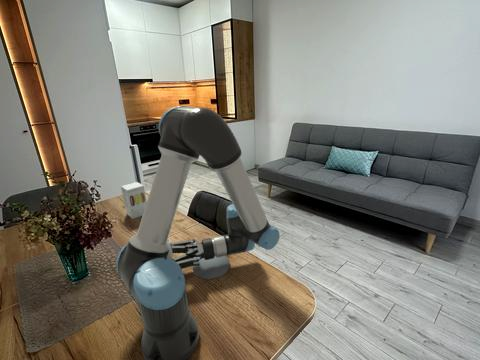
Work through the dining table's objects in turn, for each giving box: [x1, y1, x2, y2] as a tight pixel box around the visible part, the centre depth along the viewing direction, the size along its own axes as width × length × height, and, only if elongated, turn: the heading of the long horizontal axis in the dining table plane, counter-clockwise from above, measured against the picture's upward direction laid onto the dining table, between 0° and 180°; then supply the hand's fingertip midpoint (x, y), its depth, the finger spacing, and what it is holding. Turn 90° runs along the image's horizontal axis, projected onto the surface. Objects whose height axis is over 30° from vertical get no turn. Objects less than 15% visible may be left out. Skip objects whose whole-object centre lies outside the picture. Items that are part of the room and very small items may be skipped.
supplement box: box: [120, 181, 147, 220], centre depth 140 cm, size 10×9×17 cm
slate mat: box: [192, 256, 230, 280], centre depth 98 cm, size 14×14×1 cm
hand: (148, 260), depth 90 cm, fingers closed on drinking glass, 6 cm apart
